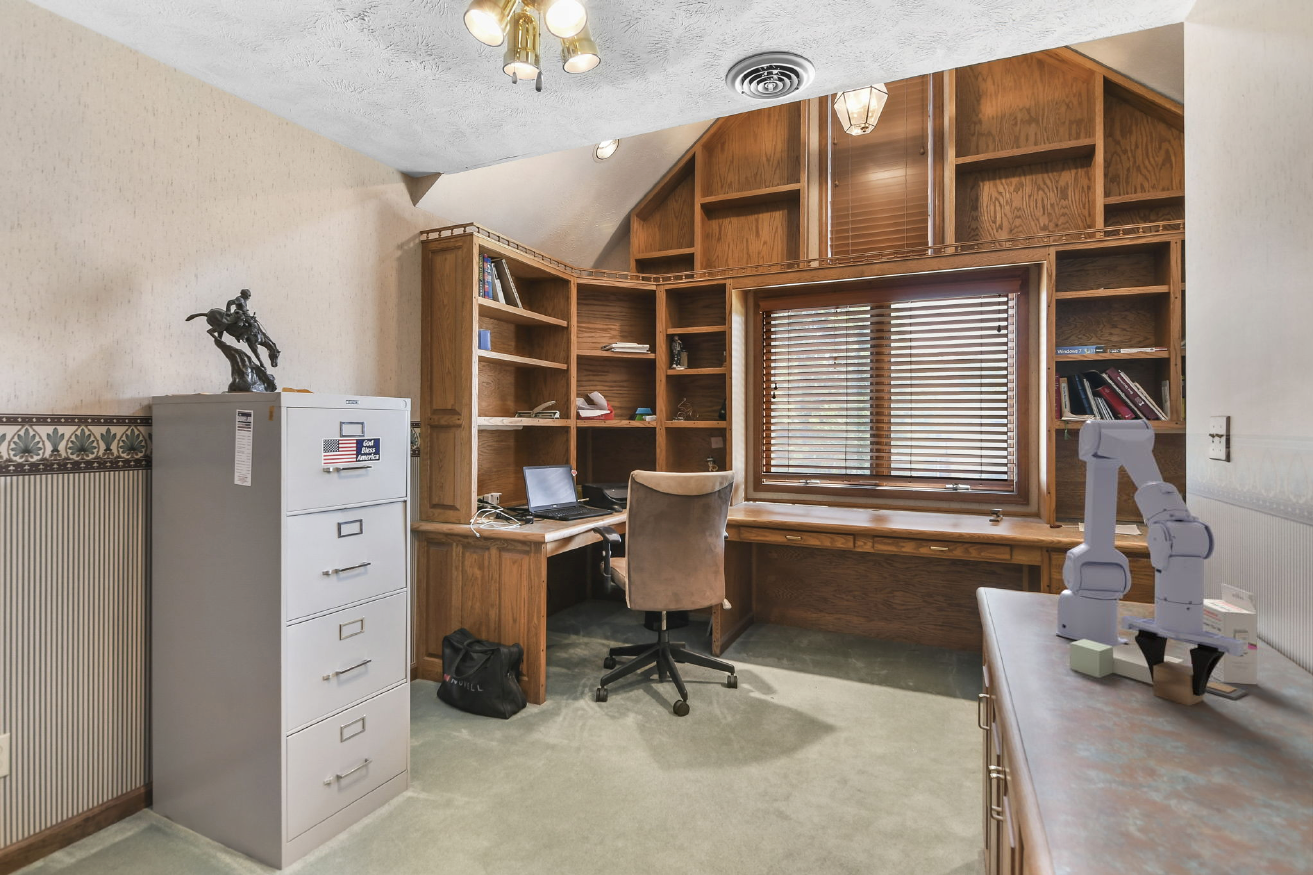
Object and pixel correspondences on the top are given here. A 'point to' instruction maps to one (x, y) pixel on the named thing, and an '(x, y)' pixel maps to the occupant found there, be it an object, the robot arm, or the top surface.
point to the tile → (1224, 690)
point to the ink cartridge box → (1234, 633)
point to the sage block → (1091, 658)
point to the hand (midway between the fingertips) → (1177, 687)
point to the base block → (1134, 663)
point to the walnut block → (1174, 683)
